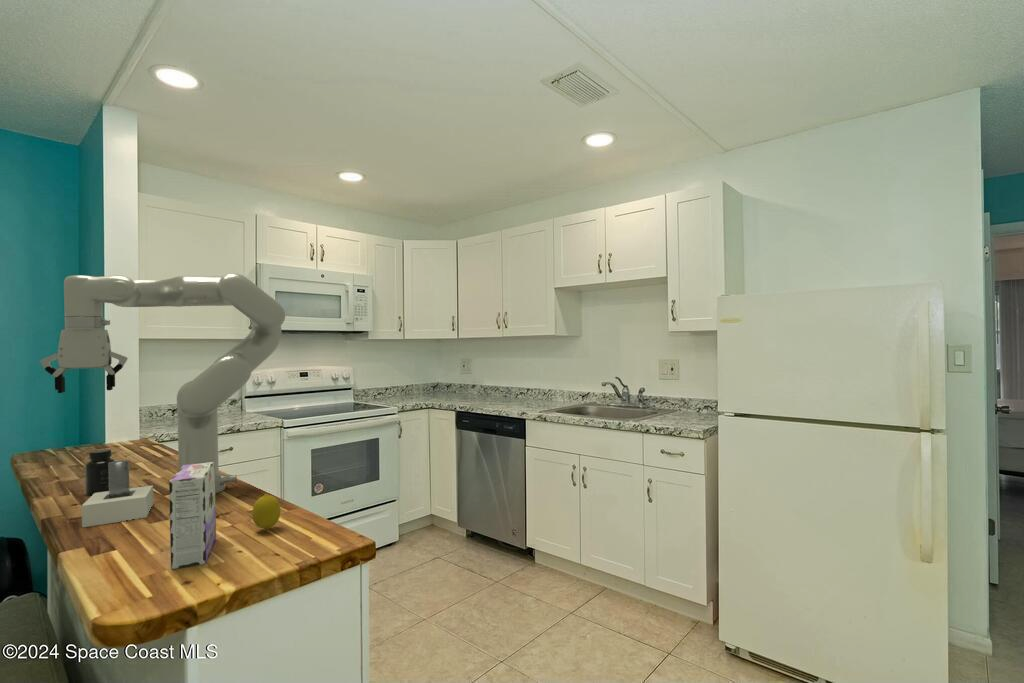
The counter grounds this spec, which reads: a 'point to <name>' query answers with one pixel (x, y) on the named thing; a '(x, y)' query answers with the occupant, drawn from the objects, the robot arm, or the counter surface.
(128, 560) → the counter surface
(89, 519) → the socket block
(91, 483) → the supplement bottle
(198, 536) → the candy box
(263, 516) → the lemon
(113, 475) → the peg
